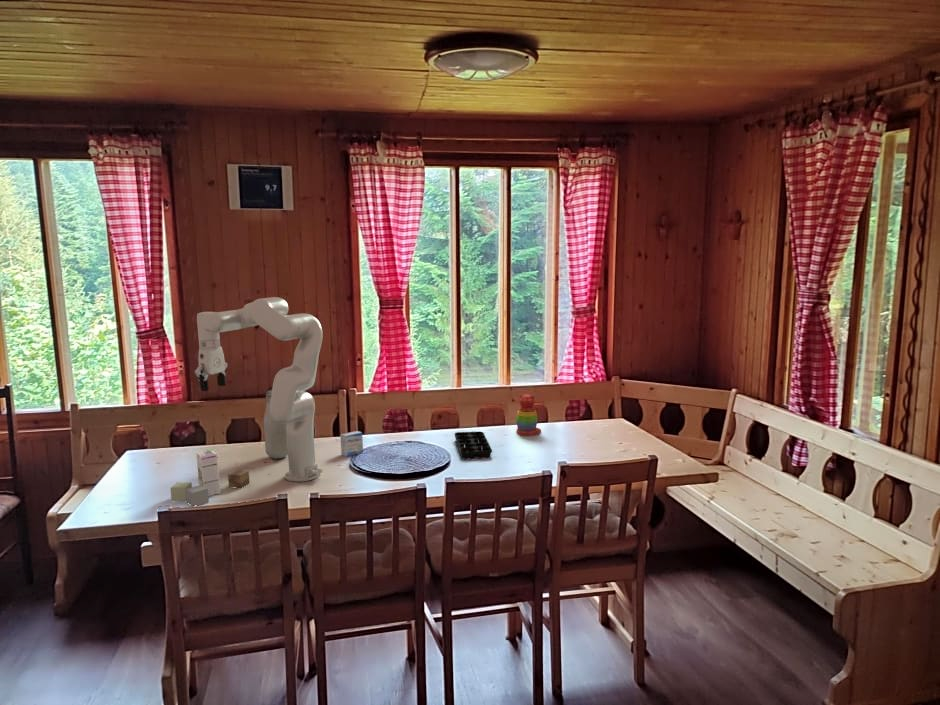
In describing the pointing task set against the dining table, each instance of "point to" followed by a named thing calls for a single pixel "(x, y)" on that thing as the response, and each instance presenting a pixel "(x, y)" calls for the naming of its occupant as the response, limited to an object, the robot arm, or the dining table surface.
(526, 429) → the stacking bear
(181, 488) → the sage green cube
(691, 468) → the dining table surface
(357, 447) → the medicine box
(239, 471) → the walnut cube
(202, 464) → the syrup box
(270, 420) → the glass bottle
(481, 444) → the egg carton
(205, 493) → the slate grey cube
